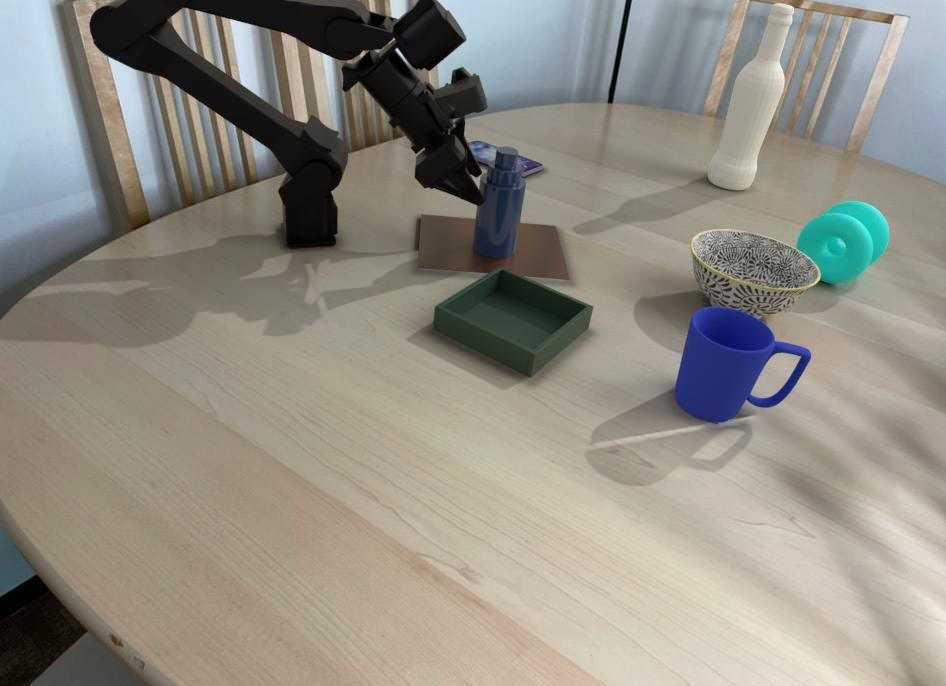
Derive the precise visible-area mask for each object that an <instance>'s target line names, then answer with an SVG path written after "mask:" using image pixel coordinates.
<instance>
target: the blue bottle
mask: <svg viewBox="0 0 946 686" xmlns="http://www.w3.org/2000/svg"><path fill="white" fill-rule="evenodd" d="M497 147H498V148H497V149H496V157H495V160H492V161H490V162H489V163H488V165H487V171H486V172H484V173H482V174H481V175H480V176H479V185H478V189H479V190H480V192H481V194H482V196H483V197H484V199H485V202H484V203H483V204H482V205H480V206H477V205H476V212H475V218H474V219H475V227H474V236H473V244H472V247H473V249H474V251H475V252H476V253H478V254H480V255H482V256H484V257H488V258H493V259H504V258H508V257H511V256H513V255H514V254H515V251H516V245H517V239H518V232H519V226H520V223H521V219H522V213H523V206H524V199H525V195H526V194H525V193H526V187H527V181H526V179H525V178H523V177H521V173H522V166H521V165H520V164H519V163H517V158H518V155H519V150H518V149H516V148H515V147H511V146H497Z"/></svg>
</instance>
